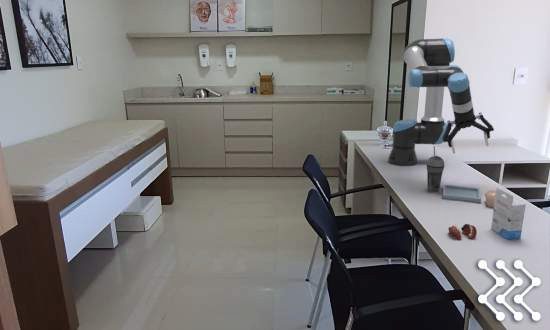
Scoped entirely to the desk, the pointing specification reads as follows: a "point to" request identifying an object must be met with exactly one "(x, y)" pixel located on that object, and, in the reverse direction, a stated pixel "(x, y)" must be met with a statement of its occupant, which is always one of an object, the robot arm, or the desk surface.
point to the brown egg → (490, 198)
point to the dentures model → (465, 229)
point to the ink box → (507, 215)
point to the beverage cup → (434, 173)
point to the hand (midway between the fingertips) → (470, 148)
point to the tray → (461, 193)
